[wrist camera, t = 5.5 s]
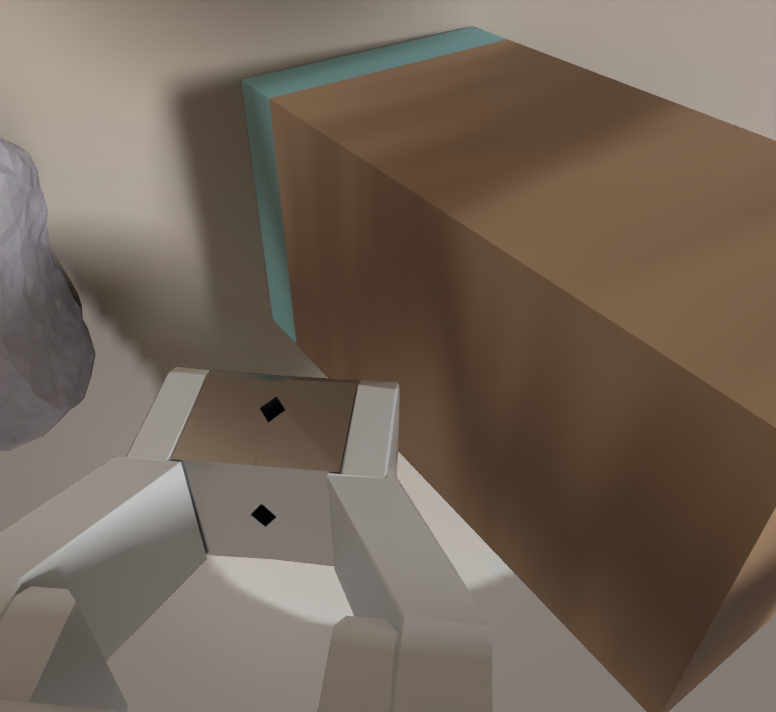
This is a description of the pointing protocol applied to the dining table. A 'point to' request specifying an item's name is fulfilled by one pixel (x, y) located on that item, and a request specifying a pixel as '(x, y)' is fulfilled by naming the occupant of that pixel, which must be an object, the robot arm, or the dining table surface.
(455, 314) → the walnut block
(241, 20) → the dining table surface
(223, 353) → the dining table surface
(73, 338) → the stone block
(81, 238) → the dining table surface
